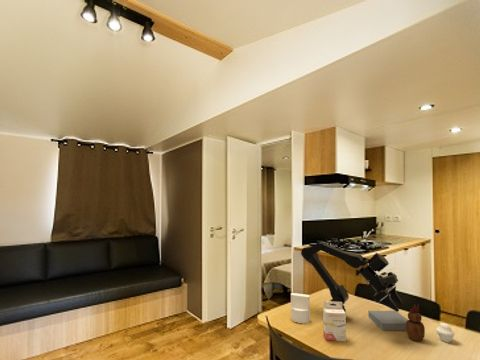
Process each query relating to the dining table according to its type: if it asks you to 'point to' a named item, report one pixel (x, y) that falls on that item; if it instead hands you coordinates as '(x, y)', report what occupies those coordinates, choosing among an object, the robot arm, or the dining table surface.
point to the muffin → (445, 332)
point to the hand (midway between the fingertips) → (400, 307)
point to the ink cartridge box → (334, 321)
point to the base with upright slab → (300, 308)
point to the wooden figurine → (415, 324)
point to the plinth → (388, 320)
